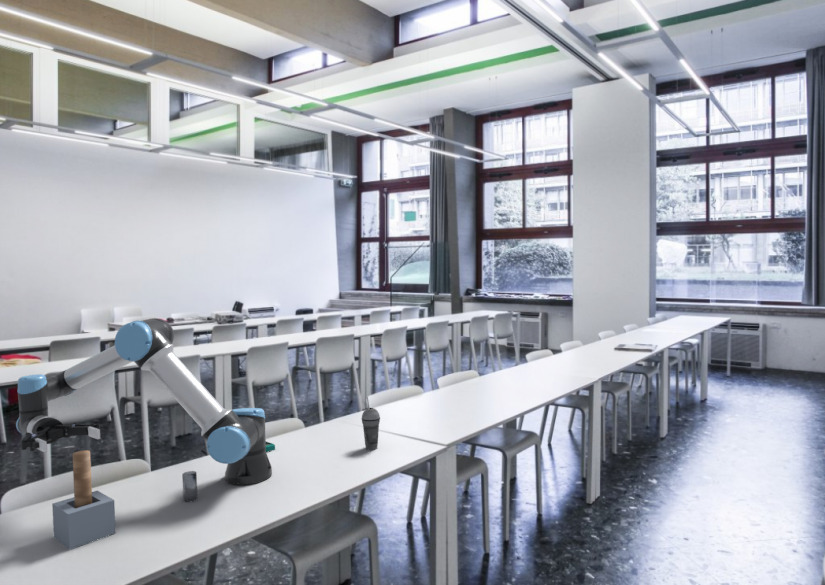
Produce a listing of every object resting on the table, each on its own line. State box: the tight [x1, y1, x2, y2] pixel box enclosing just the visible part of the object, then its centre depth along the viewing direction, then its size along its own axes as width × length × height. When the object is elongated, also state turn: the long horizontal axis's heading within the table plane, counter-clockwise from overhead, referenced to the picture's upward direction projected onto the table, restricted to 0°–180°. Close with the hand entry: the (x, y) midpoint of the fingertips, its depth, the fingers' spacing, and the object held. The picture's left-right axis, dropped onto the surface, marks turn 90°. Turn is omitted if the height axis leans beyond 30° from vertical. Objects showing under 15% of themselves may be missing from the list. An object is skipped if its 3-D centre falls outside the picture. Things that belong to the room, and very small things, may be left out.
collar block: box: [51, 490, 117, 550], centre depth 148 cm, size 11×11×9 cm
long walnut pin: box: [72, 450, 93, 508], centre depth 148 cm, size 4×4×22 cm
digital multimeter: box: [266, 441, 276, 453], centre depth 220 cm, size 7×15×3 cm, turn 46°
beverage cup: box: [361, 396, 381, 451], centre depth 217 cm, size 7×7×20 cm
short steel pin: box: [181, 470, 198, 503], centre depth 171 cm, size 4×4×8 cm
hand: (72, 440), depth 157 cm, fingers open, 13 cm apart
